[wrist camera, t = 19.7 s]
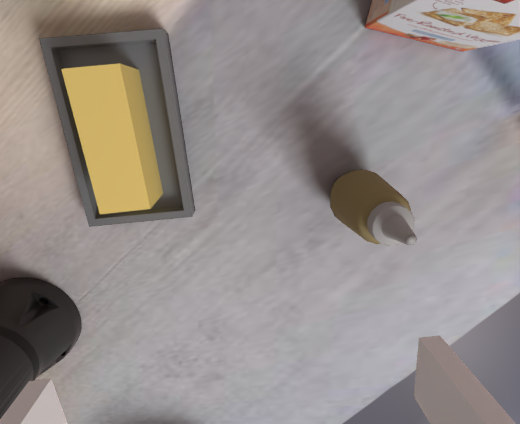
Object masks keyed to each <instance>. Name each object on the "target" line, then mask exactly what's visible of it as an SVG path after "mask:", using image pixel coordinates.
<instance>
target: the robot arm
mask: <svg viewBox="0 0 520 424" xmlns="http://www.w3.org/2000/svg"><path fill="white" fill-rule="evenodd" d="M80 333H81V317H80V314H79V311H78V309H77V307H76V306H75V304H74V303H73V301H72V300H71V299H70V298H69V297H68V296H67V295H66V294H65V293H64V292H62V291H61V290H60V289H58V288H57V287H55V286H53V285H51V284H49V283H46V282H44V281H40V280H36V279H30V278H14V279H9V280H5V281H3V282H0V424H68V423H67V421H66V418H65V415H64V412H63V410H62V407H61V404H60V401H59V399H58V396H57V393H56V391H55V388H54V385H53V382H52V380H51V379H45V380H36V381H34V380H35V379H36V378H37V377H38V376H39V375H41V374H42V373H44V372H45V371H46V370H48V369H49V368H51V367H52V366H53V365H55V364H56V363H57V362H59V361H60V360H61V359H63V358H64V357H65V356H66V355H67V354H68V353H69V352H70V350H71V349H72V347H73V346H74V345H75V343H76V342H77V340H78V338H79V336H80ZM414 397H415V399H416V400H417V402H418V404H419V405H420V407H421V409H422V411H423V412H424V414H425V415H426V417H427V419H428V421H429V422H430V424H516V423H515V422H514V421H513V420H512V419H511V418H510V417H509V415H508V414H507V413H506V412H505V411H504V409H503V408H502V407H501V406H500V405H499V404H498V403H497V401H496V400H495V399H494V398H493V397H492V396H491V394H490V393H489V392H488V391H487V390H486V389H485V388H484V386H483V385H482V384H481V383H480V382H479V381H478V379H477V378H476V377H475V376H474V375H473V374H472V372H471V371H470V370H469V369H468V368H467V367H466V365H464V363H463V362H462V361H461V360H460V359H459V357H458V356H457V355H456V354H455V353H454V352H453V350H452V349H451V348H450V347H449V346H448V345H447V343H446V342H445V341H444V340H443V339H442V338H441V337H440V336H432V337H423V338H419V344H418V355H417V366H416V378H415V389H414Z"/></svg>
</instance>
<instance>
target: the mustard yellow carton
mask: <svg viewBox="0 0 520 424" xmlns="http://www.w3.org/2000/svg"><path fill="white" fill-rule="evenodd" d="M61 70H62V74H63V78H64V81H65V85H66V89H67V93H68V96H69V100H70V104H71V108H72V111H73V115H74V119H75V123H76V127H77V130H78V134H79V138H80V142H81V145H82V149H83V153H84V157H85V160H86V164H87V168H88V172H89V176H90V179H91V183H92V187H93V191H94V194H95V198H96V202H97V206H98V209H99V213H100V214H108V213H118V212H127V211H136V210H146V209H151V208H152V206H153V205H154V204H155V203H156V202H157V200H158V199H159V198H160V197H161V196H162V194H163V190H162V185H161V180H160V175H159V170H158V165H157V159H156V154H155V149H154V144H153V139H152V134H151V129H150V124H149V118H148V113H147V108H146V103H145V98H144V93H143V88H142V83H141V77H140V72H139V70H138V69H135V68H132V67H129V66H126V65H123V64H120V63H118V64H108V65H97V66H86V67H76V68H65V69H61Z"/></svg>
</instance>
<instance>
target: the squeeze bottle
mask: <svg viewBox="0 0 520 424" xmlns="http://www.w3.org/2000/svg"><path fill="white" fill-rule="evenodd" d="M330 207H331V209H332V211H333V214H334V216H335V217H336V218H337V219H339V220H340V221H341V222H342V223H343V224H345V225H346V226H347V227H349V228H350V229H351V230H353V231H354V232H355V233H357V234H358V235H359V236H361V237H362V238H363V239H365V240H366V241H368V242H372V243H375V244H384V245H387V246H392V245H397V244H400V243H404V244H406V245H413V244H414V243H415V242H416V240H417V238H416V236H415V234H414V232H413V229H414V221H415V220H414V217H413V214H412V212H411V209H410V206H409V203H408V201H407V200H406V199H405V198H404V197H403V196H402V195H401V194H400V193H399V192H398V191H396V190H395V189H394V188H393V187H392V186H390V185H389V184H388V183H387V182H386V181H385V180H383V179H382V178H381V177H380V176H379V175H378V174H376V173H374V172H371V171H368V170H355V171H351V172H349V173H347V174H344V175H342V176H340V177H339V178H338V179H337V180H336V181H335V183H334V185H333V187H332V190H331V194H330Z"/></svg>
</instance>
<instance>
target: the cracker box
mask: <svg viewBox="0 0 520 424" xmlns="http://www.w3.org/2000/svg"><path fill="white" fill-rule="evenodd" d="M365 28H368V29H373V30H377V31H381V32H385V33H389V34H393V35H397V36H401V37H406V38H410V39H414V40H418V41H422V42H426V43H430V44H434V45H438V46H442V47H446V48H450V49H454V50H458V51H467V50H472V49H476V48H481V47H486V46H491V45H496V44H501V43H505V42H510V41H515V40H520V0H372V3H371V6H370V10H369V14H368V18H367V22H366V25H365Z"/></svg>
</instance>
